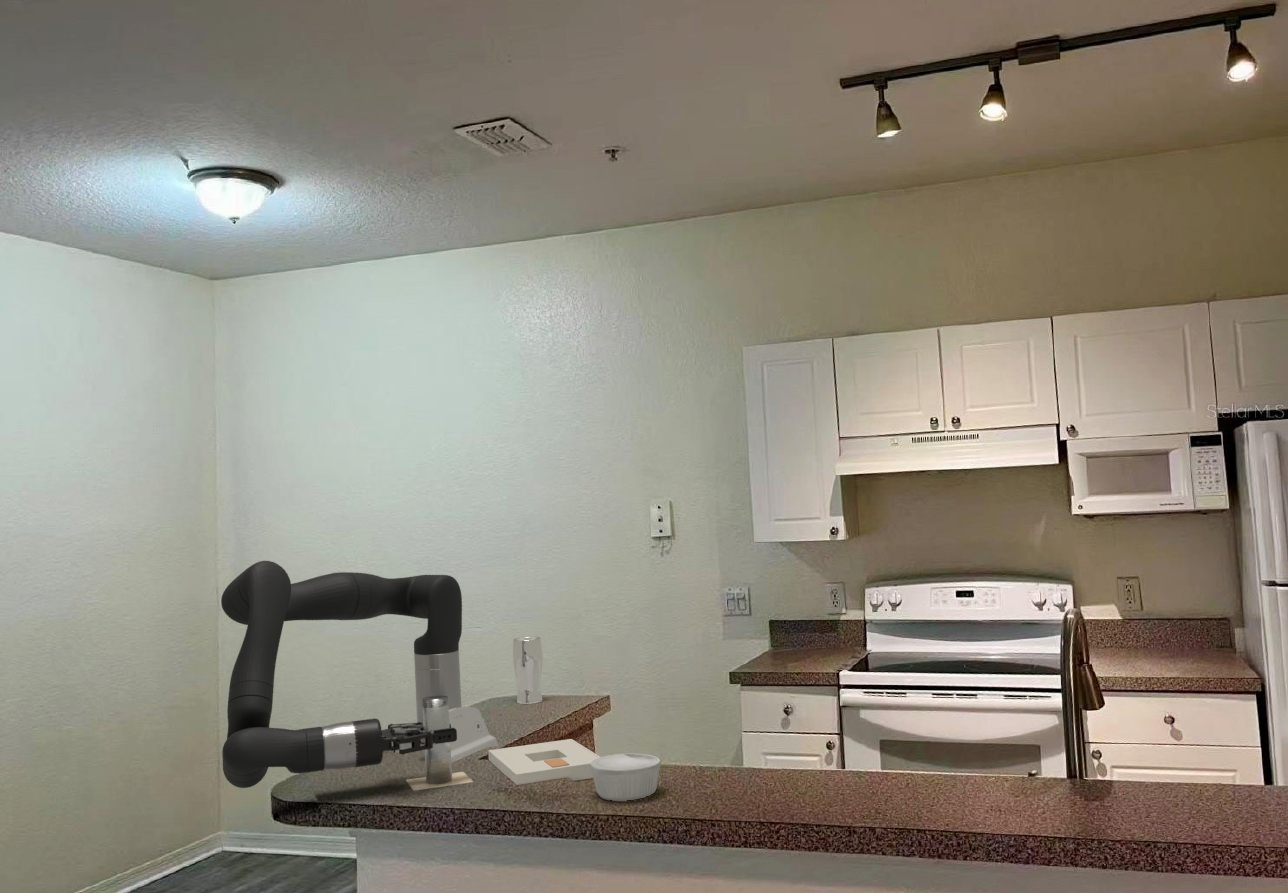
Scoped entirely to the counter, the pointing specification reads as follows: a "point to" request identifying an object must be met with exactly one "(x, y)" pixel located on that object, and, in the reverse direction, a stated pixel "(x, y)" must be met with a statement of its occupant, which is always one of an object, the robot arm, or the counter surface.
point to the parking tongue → (421, 784)
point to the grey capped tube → (440, 754)
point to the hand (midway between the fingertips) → (452, 731)
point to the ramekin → (625, 776)
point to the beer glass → (528, 669)
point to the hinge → (469, 732)
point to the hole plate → (544, 761)
